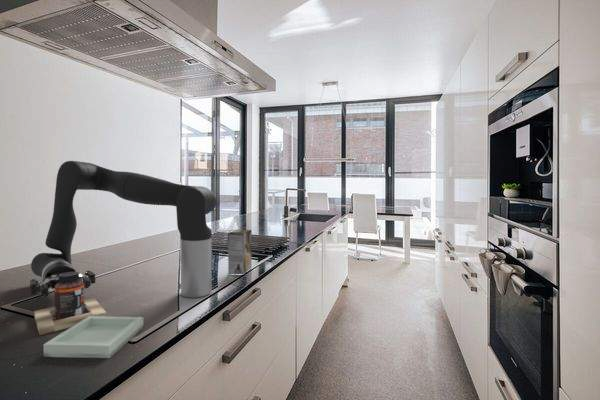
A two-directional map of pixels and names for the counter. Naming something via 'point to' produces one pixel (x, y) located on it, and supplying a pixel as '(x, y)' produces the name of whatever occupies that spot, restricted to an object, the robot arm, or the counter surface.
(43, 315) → the frame
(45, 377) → the counter surface
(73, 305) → the supplement bottle
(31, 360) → the counter surface
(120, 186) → the robot arm
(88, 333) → the tray
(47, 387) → the counter surface
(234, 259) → the coffee box
